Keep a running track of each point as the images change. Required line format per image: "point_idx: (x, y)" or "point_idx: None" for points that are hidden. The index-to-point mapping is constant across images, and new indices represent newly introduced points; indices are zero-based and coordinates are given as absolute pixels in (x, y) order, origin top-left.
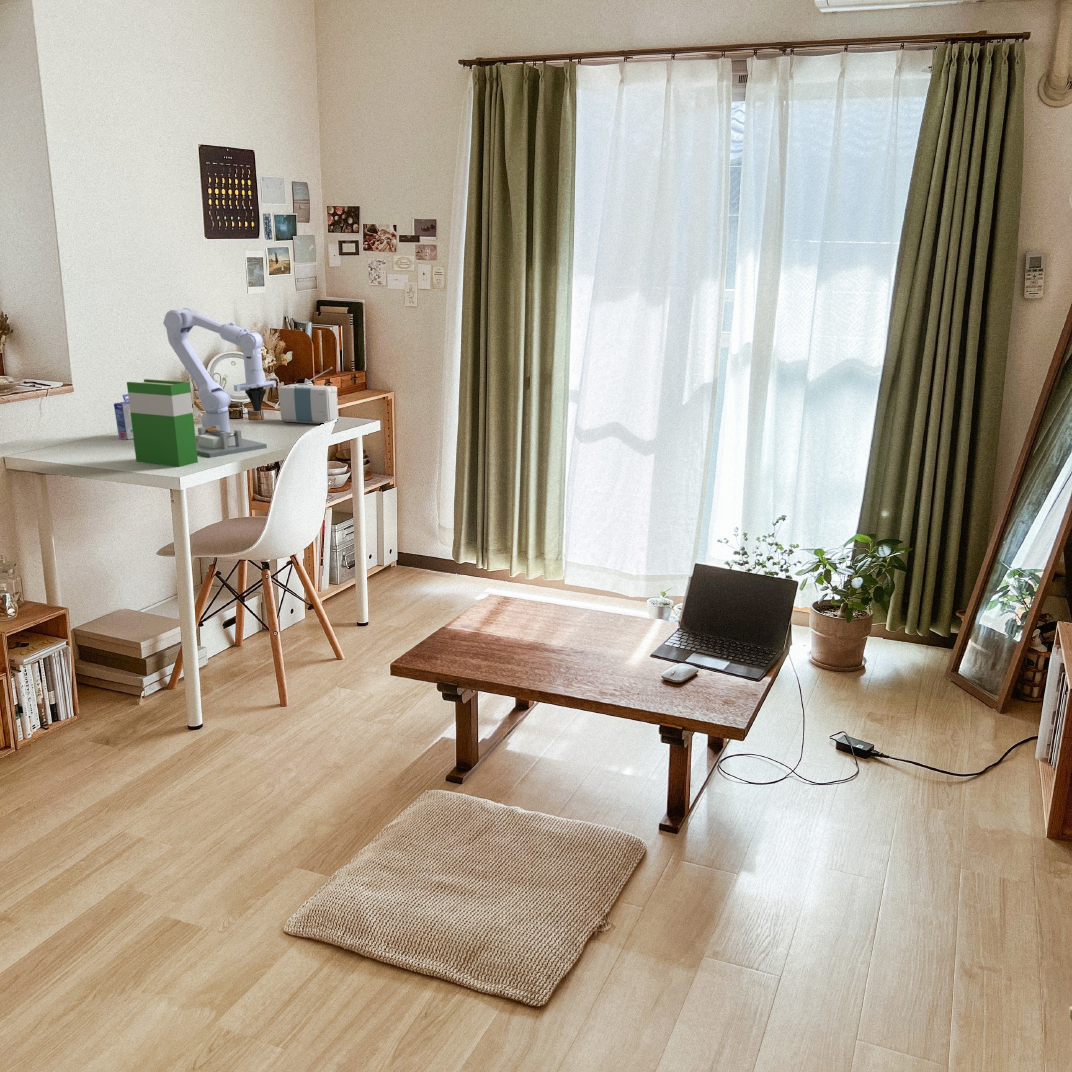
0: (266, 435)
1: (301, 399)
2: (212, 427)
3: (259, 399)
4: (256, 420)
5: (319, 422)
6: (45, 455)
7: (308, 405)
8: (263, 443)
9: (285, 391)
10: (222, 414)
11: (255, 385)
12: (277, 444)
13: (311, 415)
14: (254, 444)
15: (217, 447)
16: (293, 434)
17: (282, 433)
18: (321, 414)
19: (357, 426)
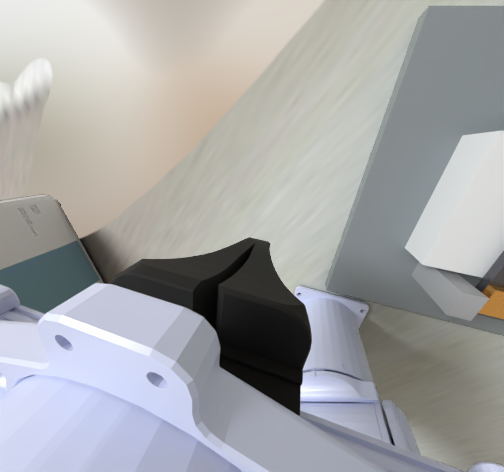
0: (228, 236)
1: (25, 296)
2: (485, 309)
3: (235, 263)
4: None
5: (67, 224)
6: None
7: (32, 266)
8: (420, 37)
9: None
10: (345, 366)
11: (240, 414)
12: (325, 57)
13: (61, 247)
14: (464, 55)
15: None
16: (173, 178)
17: (185, 218)
18: (37, 218)
19: (4, 113)
